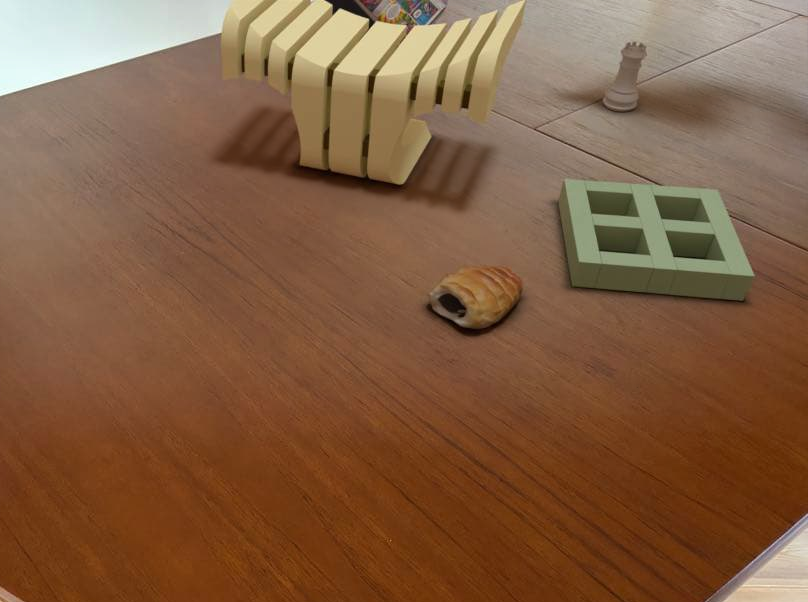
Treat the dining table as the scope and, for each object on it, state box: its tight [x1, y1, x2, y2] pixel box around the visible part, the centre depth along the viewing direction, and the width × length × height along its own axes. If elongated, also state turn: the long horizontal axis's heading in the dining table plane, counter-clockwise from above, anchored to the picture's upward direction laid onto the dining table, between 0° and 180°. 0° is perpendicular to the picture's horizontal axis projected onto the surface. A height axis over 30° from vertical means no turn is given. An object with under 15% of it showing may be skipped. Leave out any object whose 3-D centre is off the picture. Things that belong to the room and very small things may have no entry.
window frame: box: [557, 178, 755, 302], centre depth 90 cm, size 16×16×3 cm
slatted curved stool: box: [220, 0, 527, 186], centre depth 100 cm, size 30×16×18 cm, turn 67°
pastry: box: [428, 265, 524, 330], centre depth 83 cm, size 9×7×4 cm
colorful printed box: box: [311, 0, 449, 53], centre depth 121 cm, size 20×22×18 cm
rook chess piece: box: [602, 41, 648, 113], centre depth 113 cm, size 4×4×8 cm
